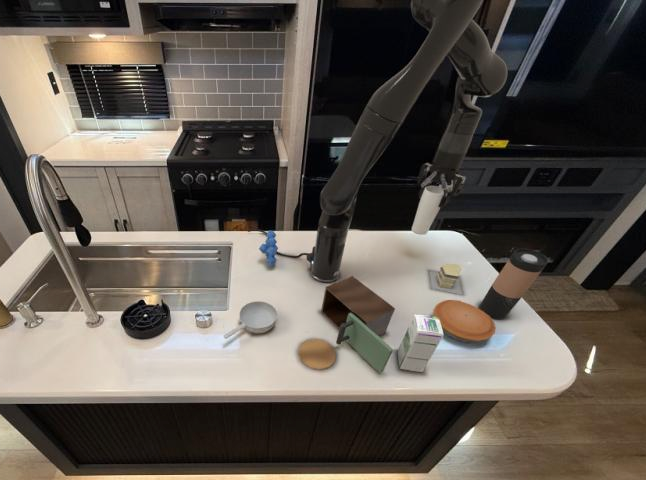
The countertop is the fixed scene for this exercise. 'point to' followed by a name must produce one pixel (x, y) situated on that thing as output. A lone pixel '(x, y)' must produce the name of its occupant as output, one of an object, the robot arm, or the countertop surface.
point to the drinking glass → (427, 209)
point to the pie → (464, 321)
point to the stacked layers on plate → (447, 278)
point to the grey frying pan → (256, 318)
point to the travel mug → (513, 282)
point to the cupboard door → (365, 342)
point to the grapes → (270, 248)
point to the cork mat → (317, 354)
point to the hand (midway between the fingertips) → (431, 202)
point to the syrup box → (419, 342)
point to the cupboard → (356, 305)
